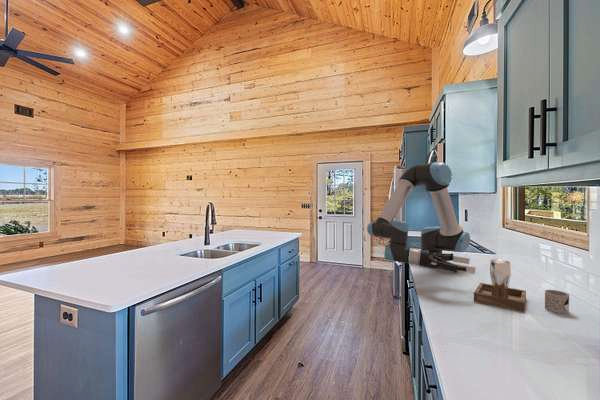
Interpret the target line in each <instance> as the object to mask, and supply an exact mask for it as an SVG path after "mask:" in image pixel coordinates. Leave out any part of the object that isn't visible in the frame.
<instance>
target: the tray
mask: <svg viewBox="0 0 600 400" xmlns="http://www.w3.org/2000/svg"><path fill="white" fill-rule="evenodd" d="M491 293H492V284H490V283H484V282H479V284H478V285H477V287H476V289H475V290H474V292H473V302H475V301H476V302H475V303H481V304H484V305H490V306H495V307H500V308H503V309H508V310H512V311H517V312H523V313H525V308H526V301H527V290H524V289H518V288H513V287H508V295H509V299H508V298H503V297H498V296H493V295H491Z"/></svg>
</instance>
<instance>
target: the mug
mask: <svg viewBox="0 0 600 400" xmlns="http://www.w3.org/2000/svg"><path fill="white" fill-rule="evenodd" d="M544 309H545V310H546V311H548V312H551V313H553V314H558V315H568V313H570V293H567V292H565V291H561V290H555V289H546V290H544Z"/></svg>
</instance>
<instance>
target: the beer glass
mask: <svg viewBox="0 0 600 400" xmlns="http://www.w3.org/2000/svg"><path fill="white" fill-rule="evenodd" d="M511 270H512V269H511V262H510V261H509V260H505V259H491V260H490V264H489V276H490V282H491V285H492V293H491V295H493V296H498V297H503V298H508V299H509V295H508V288H509V285H510V283H511V277H512V276H511V275H512V273H511V272H512V271H511Z"/></svg>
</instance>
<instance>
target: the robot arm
mask: <svg viewBox="0 0 600 400" xmlns="http://www.w3.org/2000/svg"><path fill="white" fill-rule="evenodd" d="M452 176H453V173H452V170H451V168H450V166H449V165H448V164H446V163H445V162H437V161H435V162H429V163H419V164H415V165H412V166H410V167H409V168H407V170H406V171H405V172H404V173H402V175H401V176H400V177H399V178H398V180H397V182H396V185H397V186H396V187H395V189H394V190H393V192H392V193H391V195H390V197H389V199H388V200H387V202H386V203H385V205H384V207H383V208H382V210H381V211H380V213H379V215H378V216H377V219H376V220H375V221H371V222H369V223H368V225H367V228H366V231H367V234H368V235H369V236H372V237H375V238H382V239H388V240H390V241H389V243H386V245H385V246H384V254H383V255H384V256H383V257H384V259H385V260H387V261H392V262H396V263H397V262H398V263H403V264H409V265H410V266H413V265H416V266H417V265H419V266H421V267H427V268H439V269H443V270H445V271H449V272H453V273H454V274H457V272H461V273H468V274H472V275H473V274H474V275H475V274H476V266H470V265H469V264H470V261H471V260H470V257H465V256H458V255H454V253H443V250H444V251H450V252H455V253H465V252H466V251H467V249H468V248H469V246H470V244H471V236H470V235H471V234H470V233H469V232H467V231H464V229H463V226H462V225H460V224H459V223H458V220H457V217H456V213H455V210H454V207H453V202H452V199H451V196H450V193H449V190H448V187H449V186H450V183H452V179H453V177H452ZM419 186H424V188H425V191H426V192H428V193H429V194H430V197H431V200H432V204H433V206H434V208H435V212H436V215H437V218H438V222H439V225H440V226H425V227H422V228H421V233H420V248H415V247H409V246H407V245H408V244H407V243H408V236H409V223H408V222H407V221H404V220H397V219H396V217H397V215H398V214H399V212H400V210H401V208H402V207H403V205H404V204H405V202H406V200H407V198H408V196H409V195H410V194H411V192H413V191H414V190H415V188H416V187H419ZM395 219H396V220H395ZM450 261H451V262H450ZM452 262H453V263H452ZM456 263H458V264H456ZM459 263H460V264H459Z"/></svg>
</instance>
